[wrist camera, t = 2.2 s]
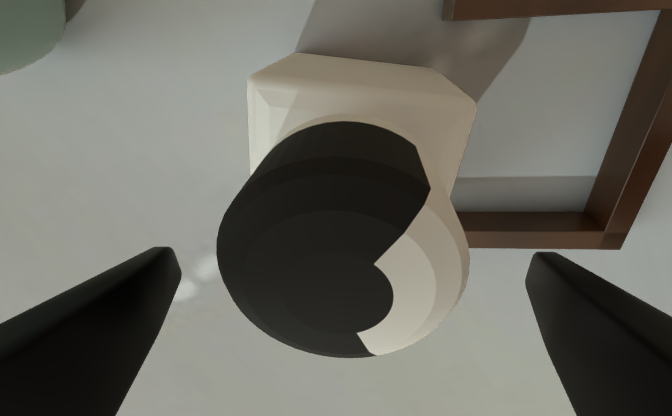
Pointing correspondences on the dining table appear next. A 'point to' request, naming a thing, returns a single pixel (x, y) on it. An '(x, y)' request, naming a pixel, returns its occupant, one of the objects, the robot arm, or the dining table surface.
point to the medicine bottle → (348, 205)
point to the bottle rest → (623, 152)
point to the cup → (29, 31)
